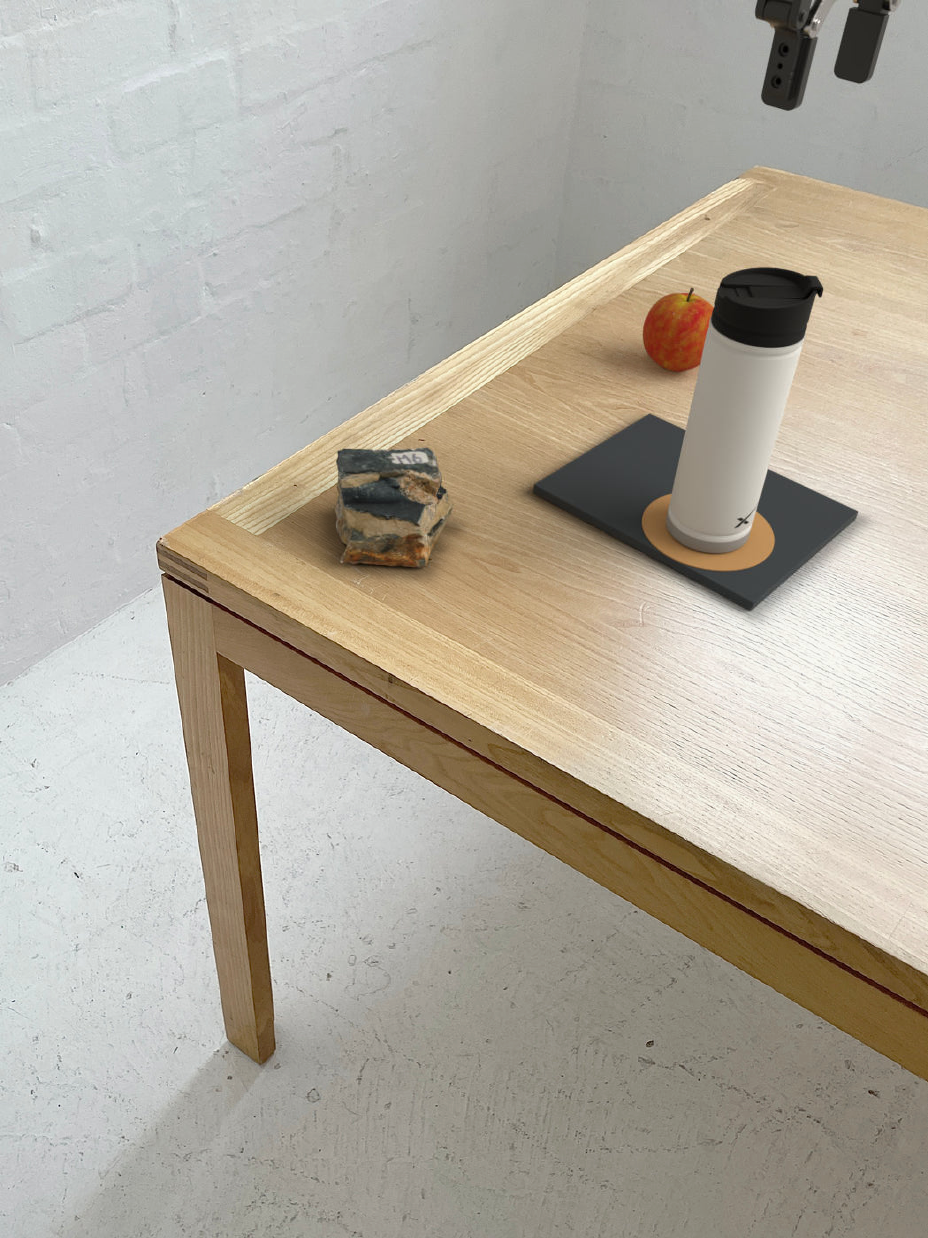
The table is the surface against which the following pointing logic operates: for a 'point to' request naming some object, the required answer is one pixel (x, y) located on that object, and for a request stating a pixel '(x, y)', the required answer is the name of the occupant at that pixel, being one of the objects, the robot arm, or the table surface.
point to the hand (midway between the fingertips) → (817, 92)
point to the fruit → (677, 330)
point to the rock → (390, 505)
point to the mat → (640, 497)
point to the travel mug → (738, 405)
